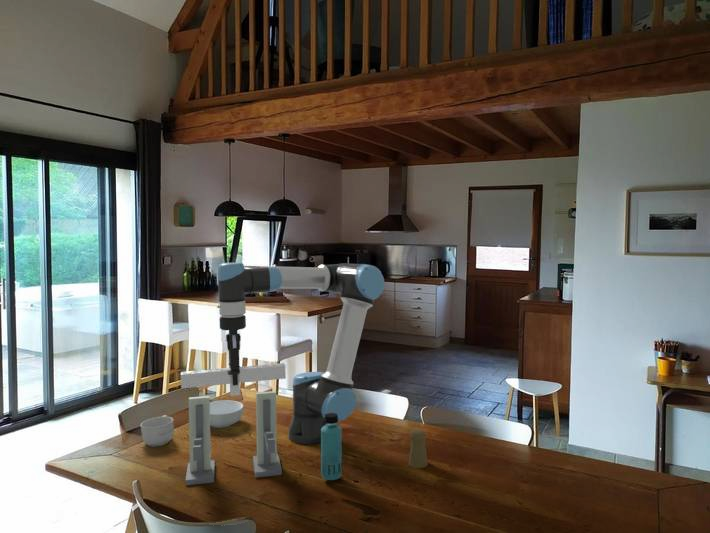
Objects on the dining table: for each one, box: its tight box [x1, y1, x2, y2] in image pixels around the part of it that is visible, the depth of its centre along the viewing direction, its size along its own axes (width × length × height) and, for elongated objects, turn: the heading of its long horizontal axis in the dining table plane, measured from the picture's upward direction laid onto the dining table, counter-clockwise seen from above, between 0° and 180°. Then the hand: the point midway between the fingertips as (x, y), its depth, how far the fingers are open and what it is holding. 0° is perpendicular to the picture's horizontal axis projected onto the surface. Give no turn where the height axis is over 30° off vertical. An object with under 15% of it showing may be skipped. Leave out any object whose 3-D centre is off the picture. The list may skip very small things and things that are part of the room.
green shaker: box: [408, 428, 428, 469], centre depth 166 cm, size 6×6×11 cm
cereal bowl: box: [210, 399, 244, 429], centre depth 201 cm, size 17×17×7 cm
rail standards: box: [185, 390, 283, 486], centre depth 156 cm, size 28×23×24 cm
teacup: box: [139, 414, 175, 448], centre depth 184 cm, size 14×11×8 cm
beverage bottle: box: [320, 413, 343, 481], centre depth 155 cm, size 6×7×20 cm
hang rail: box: [180, 362, 287, 389], centre depth 155 cm, size 30×3×4 cm, turn 106°
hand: (235, 393), depth 155 cm, fingers closed on hang rail, 3 cm apart
